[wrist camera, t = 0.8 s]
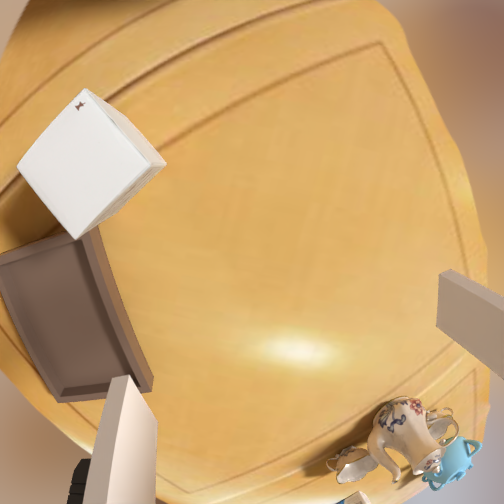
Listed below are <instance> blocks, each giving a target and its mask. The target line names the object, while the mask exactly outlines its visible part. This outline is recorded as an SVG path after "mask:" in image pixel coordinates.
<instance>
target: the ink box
mask: <svg viewBox="0 0 504 504" xmlns="http://www.w3.org/2000/svg"><path fill="white" fill-rule="evenodd" d="M338 504H371V503H370V501H369V499H368V498H367V496H366V494H364V493H363V492H360V491H358V492H356V493H355V494H353V495H351V496H350V497H348V498H346V499H345V500H343V501H341V502H339V503H338Z"/></svg>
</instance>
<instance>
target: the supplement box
mask: <svg viewBox="0 0 504 504" xmlns="http://www.w3.org/2000/svg"><path fill="white" fill-rule="evenodd" d="M166 165H167V163H166V162H165V161H164V159H163V158H162V157H161V156H160V154H159V153H158V152H157V151H156V150H155V149H154V147H153V146H152V145H151V144H150V143H149V141H148V140H147V139H146V138H145V137H144V136H143V135H142V134H141V132H140V131H139V130H138V129H137V128H136V127H135V126H134V125H133V124H132V123H131V122H130V120H129V119H128V118H127V117H126V116H125V115H123V114H122V113H121V112H119V111H118V110H116V109H115V108H113V107H112V106H111V105H109V104H108V103H106V102H105V101H104V100H102V99H101V98H99V97H98V96H96V95H95V94H94V93H92V92H91V91H89V90H88V89H86V88H84V89H83V90H82V91H81V92H80V93H79V94H78V95H77V96H76V97H75V98H74V99H73V100H72V101H71V102H70V103H69V104H68V105H67V106H66V108H65V109H64V110H63V111H62V112H61V113H60V114H59V115H58V116H57V117H56V118H55V119H54V120H53V122H52V123H51V124H50V125H49V126H48V127H47V128H46V129H45V131H44V132H43V133H42V134H41V135H40V136H39V138H38V139H37V140H36V141H35V143H34V144H33V145H32V146H31V148H30V149H29V150H28V151H27V153H26V154H25V155H24V156H23V158H22V159H21V160H20V162H19V163H18V165H17V169H18V170H19V172H20V173H21V174H22V176H23V177H24V178H25V180H26V181H27V182H28V184H29V185H30V186H31V188H32V189H33V190H34V191H35V193H36V194H37V195H38V197H39V198H40V199H41V200H42V202H43V203H44V204H45V205H46V207H47V208H48V209H49V210H50V211H51V213H52V214H53V215H54V216H55V217H56V219H57V220H58V221H59V222H60V223H61V224H62V226H63V227H64V228H65V229H66V230H67V231H68V233H69V234H70V235H71V236H72V237H73V238H74V239H75V240H76V239H78V238H79V237H81V236H82V235H83V234H85V233H86V232H88V231H89V230H91V229H92V228H94V227H95V226H97V225H98V224H100V223H101V222H103V221H104V220H106V219H108V218H109V217H111V216H113V215H114V214H116V213H117V212H118V211H119V210H120V209H121V208H122V207H123V206H124V205H125V204H126V203H127V202H128V201H129V200H130V199H131V198H132V197H133V196H134V195H136V194H137V193H138V192H139V191H140V190H141V189H142V188H143V187H144V186H145V185H146V184H147V183H148V182H149V181H150V180H151V179H152V178H153V177H154V176H155V175H157V174H158V173H159V172H160V171H161V170H162V169H163V168H164V167H165V166H166Z"/></svg>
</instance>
